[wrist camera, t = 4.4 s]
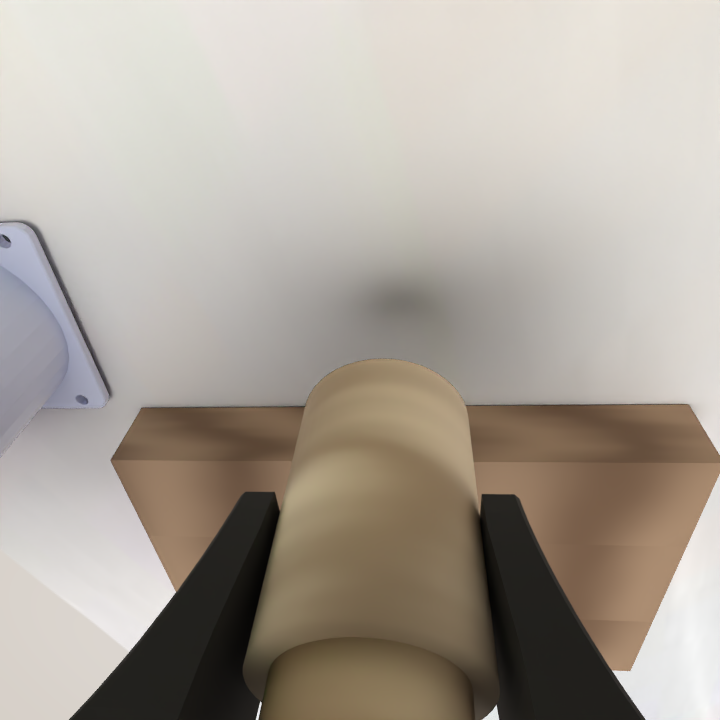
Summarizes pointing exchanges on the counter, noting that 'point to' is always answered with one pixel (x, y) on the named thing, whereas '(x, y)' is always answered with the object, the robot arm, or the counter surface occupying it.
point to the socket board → (493, 476)
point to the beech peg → (377, 559)
